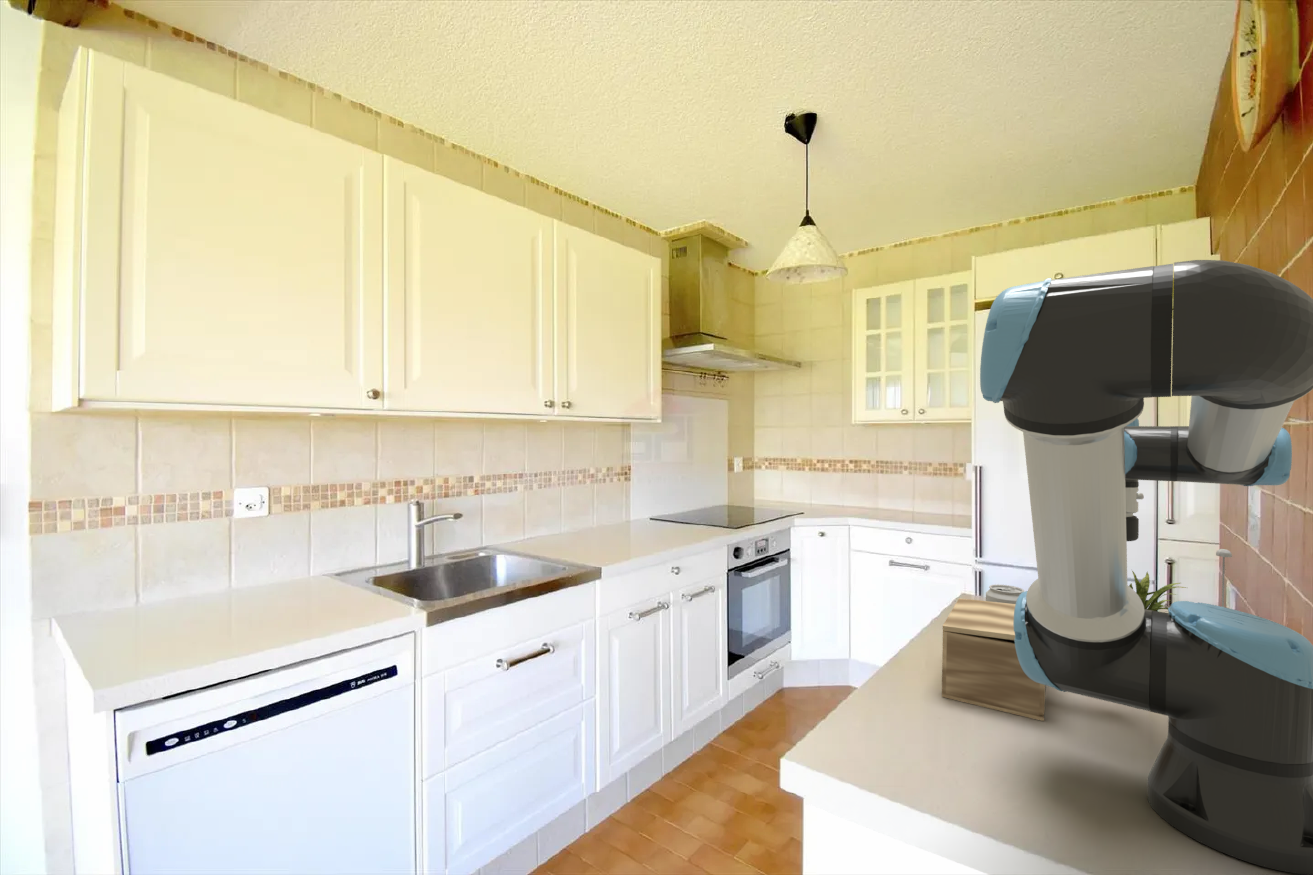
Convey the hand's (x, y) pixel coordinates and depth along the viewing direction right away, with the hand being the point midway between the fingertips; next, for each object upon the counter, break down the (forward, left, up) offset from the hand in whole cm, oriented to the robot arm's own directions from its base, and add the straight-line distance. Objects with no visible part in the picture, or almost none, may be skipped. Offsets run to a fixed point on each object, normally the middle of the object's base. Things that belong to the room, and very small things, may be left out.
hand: (1106, 662), depth 92 cm
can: (+24, +15, -8) cm, 29 cm away
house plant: (+35, -8, -8) cm, 37 cm away
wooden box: (0, +15, -8) cm, 17 cm away
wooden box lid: (0, +10, +2) cm, 10 cm away
